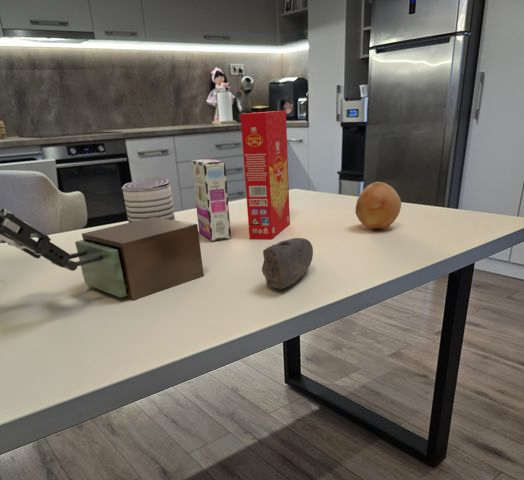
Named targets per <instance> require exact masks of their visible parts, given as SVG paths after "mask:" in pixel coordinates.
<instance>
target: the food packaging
mask: <svg viewBox="0 0 524 480" xmlns="http://www.w3.org/2000/svg"><path fill="white" fill-rule="evenodd" d="M239 116H240V128H241V129H240V130H241V142H242V157H243V168H244V182H245V195H246V210H247V211H246V212H247V223H248V237H249V238H248V239H249V240H273V239H274V238H276V236H278V235H279V234H280V233H281V232H283V231H284V230H285V229H286V228H287V227H289V225H291V216H290V215H291V213H290V188H289V186H290V185H289V160H288V159H289V157H288V132H287V130H288V129H287V127H288V126H287V110H272V111H260V112H249V113H240V114H239Z"/></svg>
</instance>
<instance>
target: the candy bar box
mask: <svg viewBox="0 0 524 480" xmlns="http://www.w3.org/2000/svg"><path fill="white" fill-rule="evenodd" d="M190 162H191V169H192V170H191V171H192V178H193V188H194V189H193V190H194V197H195V206H196V207H195V208H196V215H197V217H196V218H197V225H198V233H199V234H201V235H202V236H204V237H205V238H207V239H208V240H210V241H211V242H218V241H225V240H230V239H232V231H231V221H230V208H229V194H228V180H227V171H226V169H227V168H226V161H224V160H219V159H218V160H217V159H212V158H205V159H204V158H203V159H193V160H190Z"/></svg>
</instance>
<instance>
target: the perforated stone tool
mask: <svg viewBox="0 0 524 480" xmlns="http://www.w3.org/2000/svg"><path fill="white" fill-rule="evenodd" d="M262 254H263V264H262V267H261V272H262V275H263V276H264V278H265V280H266V285H267V286H268V287H271V288H272V289H276V290H277V289H278V290H283V289H285V288H289V287H291V286H292V285H294V284H296V282H298V280H300V279H301V278H302V277H303V276H304V275H305V274H306V273H307V271H309V268H310V266H311V263H312V261H313V257H314V248H313V245H312V243H311V241H310V240H309V239H307V238H303V237H294V238H289V239H286V240H282V241H278V242H277V243H275V244H272V245H270V246H268V247H266V248H265V249H263V252H262Z"/></svg>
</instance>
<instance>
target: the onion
mask: <svg viewBox="0 0 524 480" xmlns="http://www.w3.org/2000/svg"><path fill="white" fill-rule="evenodd" d="M401 209H402V200H401V197H400V195H399V194H398V192H397V191H396V190H395V188H394V187H392V185H390V184H387V183H385V182H382V181H375V182H372V183H370V184H369V185H367V186H366V187H365V188H364V189H362V191H361V192H360V194H359V196H358V198H357V200H356V204H355V215H356V217H357V219H358V221H359V222H360V223H361V224H362V225H363V226H364V227H366V228H368V229H387V228H388V227H390V226H391V225H392V224H393V223H394V222H395V221H396V220H397V218H398V217H399V215H400V212H401Z"/></svg>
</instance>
